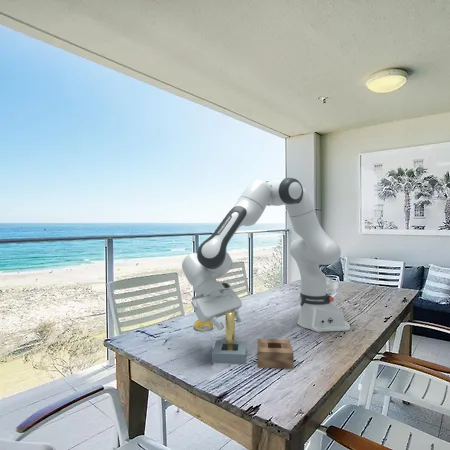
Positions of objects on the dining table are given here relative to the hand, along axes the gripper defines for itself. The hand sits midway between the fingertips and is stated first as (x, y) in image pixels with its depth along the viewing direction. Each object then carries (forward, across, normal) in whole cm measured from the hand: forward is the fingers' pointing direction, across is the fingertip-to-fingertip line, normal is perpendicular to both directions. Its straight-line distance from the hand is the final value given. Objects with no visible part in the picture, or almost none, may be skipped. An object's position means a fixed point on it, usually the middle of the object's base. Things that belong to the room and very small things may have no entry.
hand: (230, 325), depth 107 cm
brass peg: (+8, 0, +8) cm, 12 cm away
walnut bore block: (+17, +7, -1) cm, 19 cm away
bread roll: (-12, +16, +29) cm, 35 cm away
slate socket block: (+8, 0, +8) cm, 12 cm away
